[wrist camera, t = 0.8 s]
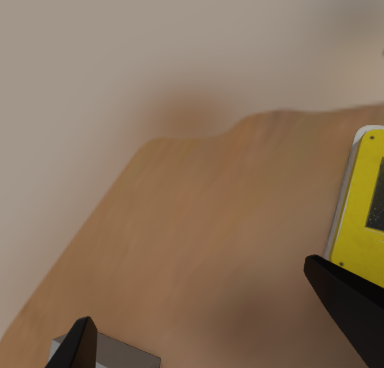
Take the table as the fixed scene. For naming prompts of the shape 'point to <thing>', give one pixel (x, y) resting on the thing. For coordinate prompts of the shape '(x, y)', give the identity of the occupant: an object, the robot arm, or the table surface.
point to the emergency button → (361, 210)
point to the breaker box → (115, 354)
